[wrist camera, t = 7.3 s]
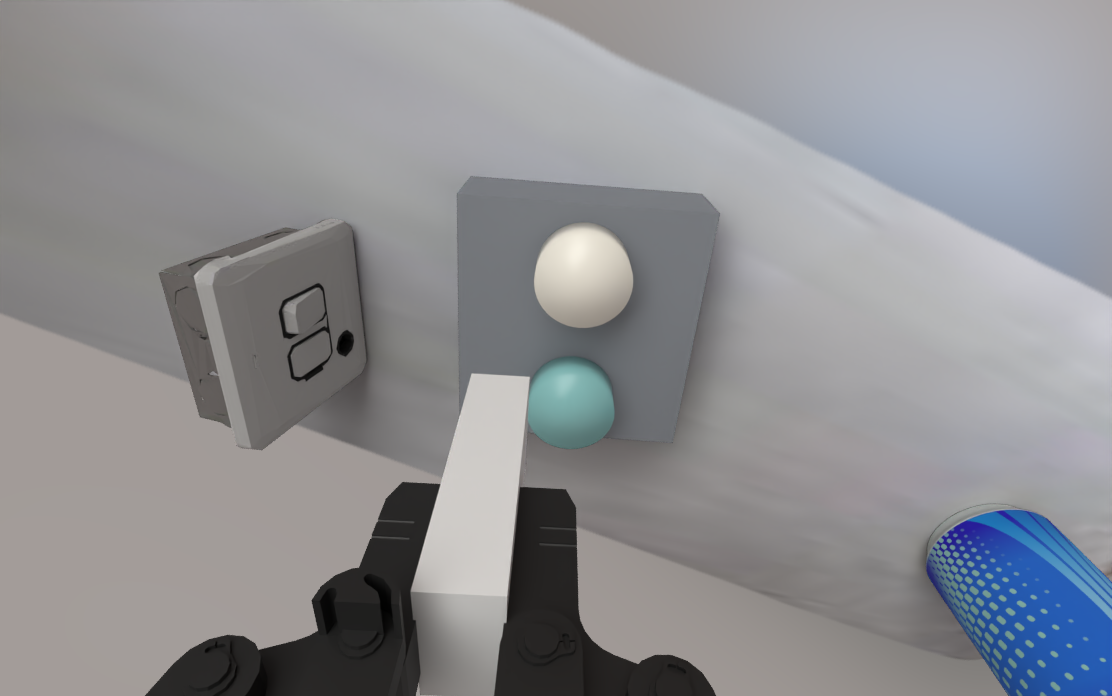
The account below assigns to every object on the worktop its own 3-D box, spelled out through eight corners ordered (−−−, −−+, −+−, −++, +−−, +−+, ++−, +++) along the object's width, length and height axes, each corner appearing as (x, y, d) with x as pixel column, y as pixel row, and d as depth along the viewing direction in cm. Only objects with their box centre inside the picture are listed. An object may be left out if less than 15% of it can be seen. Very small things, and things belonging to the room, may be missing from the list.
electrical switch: (370, 366, 35) (288, 462, 26) (290, 357, 35) (185, 448, 27) (354, 215, 30) (250, 273, 22) (263, 206, 31) (128, 261, 23)
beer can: (954, 485, 38) (1183, 745, 24) (1069, 506, 38) (1360, 773, 24) (894, 571, 42) (1060, 839, 27) (999, 589, 42) (1215, 860, 28)
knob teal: (535, 324, 32) (528, 373, 27) (612, 329, 32) (619, 379, 27) (531, 389, 34) (525, 445, 29) (604, 394, 34) (609, 451, 29)
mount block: (470, 176, 29) (457, 193, 26) (702, 193, 29) (719, 213, 26) (471, 389, 35) (459, 427, 32) (662, 403, 35) (672, 442, 32)
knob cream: (542, 200, 29) (536, 231, 24) (628, 207, 29) (639, 238, 24) (537, 281, 31) (531, 324, 26) (618, 287, 31) (626, 331, 26)
